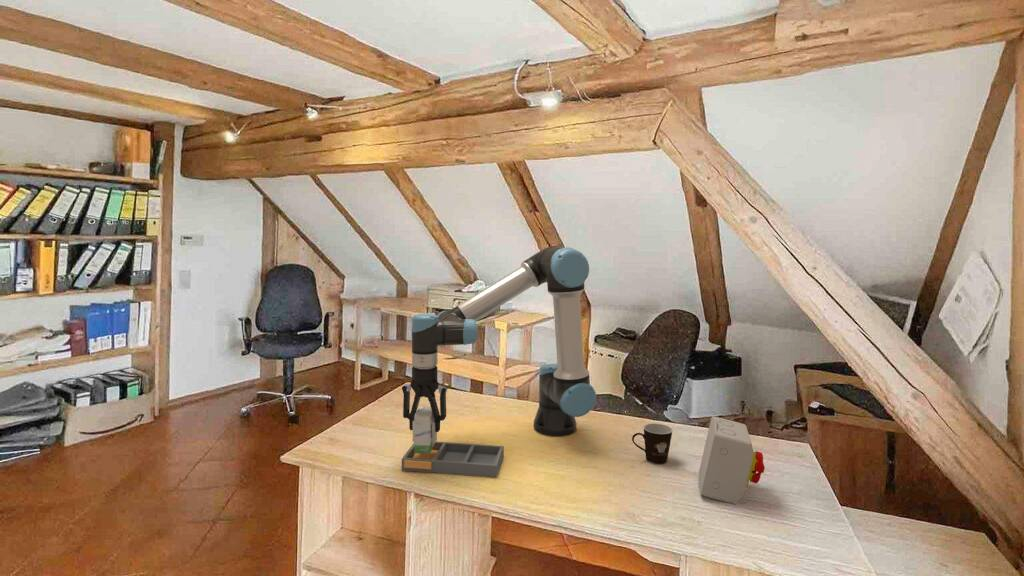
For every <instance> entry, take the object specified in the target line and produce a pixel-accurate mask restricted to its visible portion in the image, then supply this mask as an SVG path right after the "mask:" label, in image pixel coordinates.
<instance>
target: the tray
mask: <svg viewBox="0 0 1024 576" xmlns="http://www.w3.org/2000/svg"><path fill="white" fill-rule="evenodd" d="M412 443H413V444H412V445H411V446H410V447H409V449H407V451H406V453H405V454H404V455H403V457H402V458H401V471H404V470H405V472H407V471H409V472H417V471H418V472H419V473H422V472H423V473H430V472H436V473H435V474H444V473H447V475H458V476H460V475H461V476H470V475H472V476H473V477H483V476H485V478H497V477H498V475H499V471H500V468H501V465H502V463H503V459H504V455H505V452H504V449H505V446H504V445H495V444H479V443H465V442H464V443H463V442H452V441H451V442H450V441H449V442H448V441H436V442H435V444H434V446H433V448H432V451H431V453H430V454H422V453H414V442H412ZM472 476H471V477H472ZM486 476H487V477H486Z"/></svg>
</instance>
